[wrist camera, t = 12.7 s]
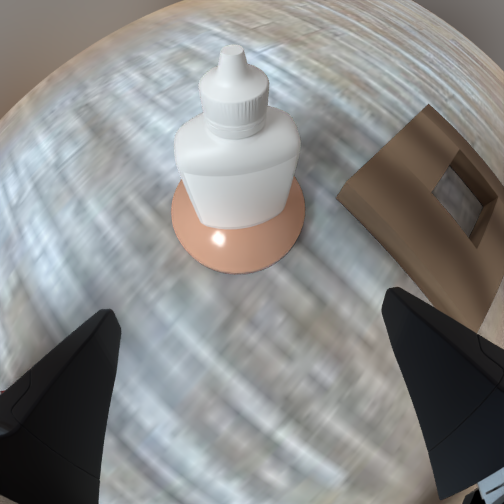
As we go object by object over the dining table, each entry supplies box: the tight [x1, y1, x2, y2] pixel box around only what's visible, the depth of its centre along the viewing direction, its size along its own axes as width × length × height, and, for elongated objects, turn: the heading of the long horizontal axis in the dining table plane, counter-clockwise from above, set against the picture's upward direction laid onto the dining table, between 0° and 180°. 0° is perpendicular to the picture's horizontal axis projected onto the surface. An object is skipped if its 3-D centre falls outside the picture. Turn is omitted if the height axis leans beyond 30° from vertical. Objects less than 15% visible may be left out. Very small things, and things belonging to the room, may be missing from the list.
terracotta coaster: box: [171, 177, 305, 275], centre depth 19 cm, size 9×9×1 cm
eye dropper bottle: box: [174, 45, 301, 229], centre depth 13 cm, size 4×6×12 cm
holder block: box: [336, 104, 504, 333], centre depth 19 cm, size 15×15×2 cm
